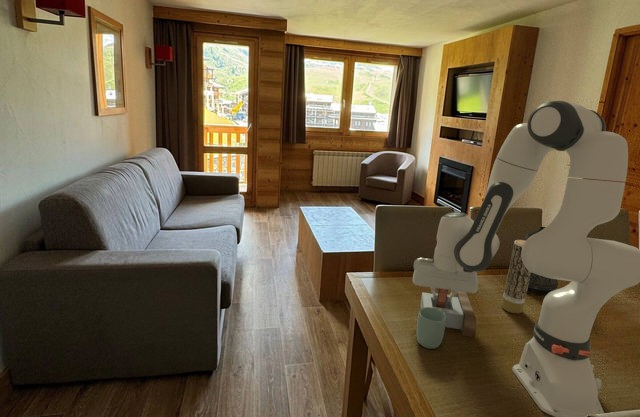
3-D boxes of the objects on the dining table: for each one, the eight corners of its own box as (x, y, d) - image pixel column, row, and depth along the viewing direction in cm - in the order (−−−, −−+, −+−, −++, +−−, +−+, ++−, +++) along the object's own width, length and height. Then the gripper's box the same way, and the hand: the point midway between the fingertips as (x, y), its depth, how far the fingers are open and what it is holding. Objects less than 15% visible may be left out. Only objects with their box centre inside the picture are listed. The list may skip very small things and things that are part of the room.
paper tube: (524, 315, 130) (540, 248, 123) (503, 312, 131) (517, 245, 124) (519, 306, 136) (533, 241, 130) (499, 303, 137) (512, 238, 131)
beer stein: (531, 275, 163) (543, 220, 157) (573, 297, 145) (588, 236, 139) (501, 279, 158) (512, 222, 151) (540, 301, 140) (555, 238, 134)
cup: (437, 356, 105) (442, 324, 103) (411, 345, 109) (415, 315, 107) (444, 342, 112) (449, 312, 109) (419, 333, 116) (423, 304, 113)
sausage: (445, 315, 124) (448, 290, 121) (435, 313, 124) (439, 288, 122) (443, 310, 127) (447, 286, 124) (434, 309, 127) (438, 284, 125)
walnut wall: (473, 336, 116) (476, 319, 114) (462, 335, 116) (465, 317, 115) (463, 307, 133) (466, 292, 131) (454, 306, 133) (457, 291, 132)
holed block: (461, 329, 119) (463, 315, 118) (422, 323, 121) (424, 309, 120) (455, 310, 131) (457, 297, 129) (420, 305, 133) (422, 292, 131)
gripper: (415, 260, 120) (409, 299, 123) (482, 269, 116) (475, 309, 119) (414, 253, 126) (409, 291, 129) (478, 261, 122) (471, 299, 125)
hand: (441, 299), depth 124 cm, fingers closed on sausage, 3 cm apart
